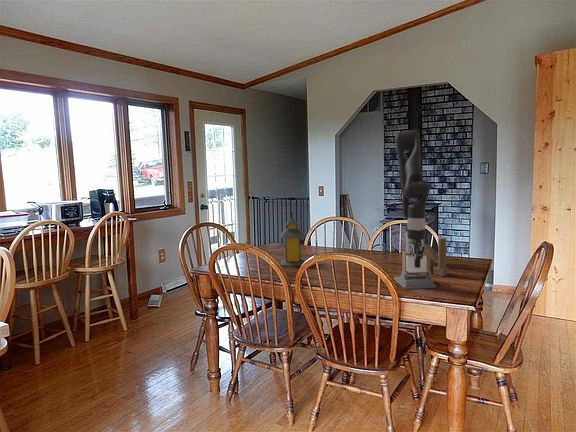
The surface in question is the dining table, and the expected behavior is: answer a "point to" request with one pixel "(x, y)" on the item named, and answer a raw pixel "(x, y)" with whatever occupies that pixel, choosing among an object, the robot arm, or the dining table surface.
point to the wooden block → (436, 258)
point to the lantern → (292, 243)
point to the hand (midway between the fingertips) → (416, 266)
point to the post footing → (413, 277)
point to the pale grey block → (411, 264)
